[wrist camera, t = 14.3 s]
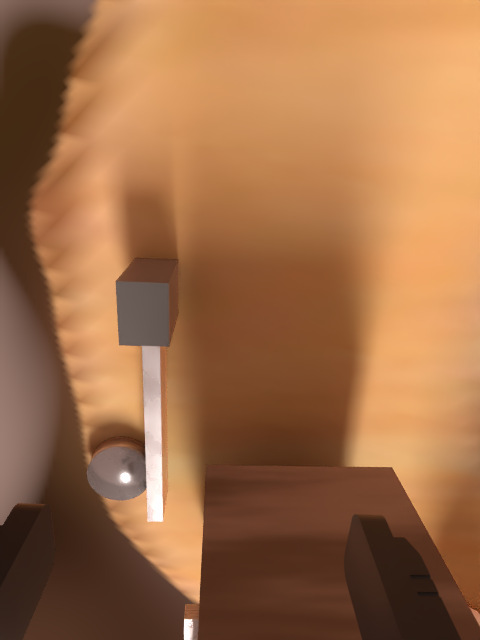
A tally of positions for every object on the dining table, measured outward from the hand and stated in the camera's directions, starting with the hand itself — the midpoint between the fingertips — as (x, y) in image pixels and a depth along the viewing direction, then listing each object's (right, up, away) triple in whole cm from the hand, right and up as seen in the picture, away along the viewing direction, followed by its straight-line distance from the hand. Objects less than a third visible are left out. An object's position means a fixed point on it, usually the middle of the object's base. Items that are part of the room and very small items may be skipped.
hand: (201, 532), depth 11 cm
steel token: (-9, -6, +25) cm, 27 cm away
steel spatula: (-5, 0, +22) cm, 23 cm away
